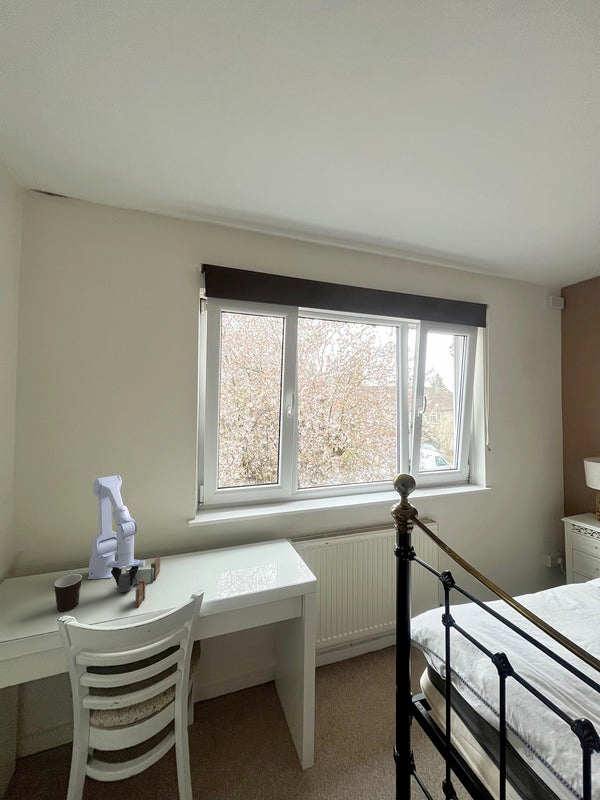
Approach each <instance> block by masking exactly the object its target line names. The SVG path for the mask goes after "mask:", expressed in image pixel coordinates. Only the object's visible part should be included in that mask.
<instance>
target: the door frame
mask: <svg viewBox="0 0 600 800" xmlns="http://www.w3.org/2000/svg"><path fill="white" fill-rule="evenodd" d="M150 568H154V576H153V582H156V580H157V577H158V576H159V574H160V572H161V556H160V555H159V556H156V558H155V559H154V561H153V562H152V561H151V563H150ZM145 582H146V580H140V581H139V583H138V586H137V588H135V609H138V608H140V607H141V604H143V601H145V599H146V583H145Z"/></svg>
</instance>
